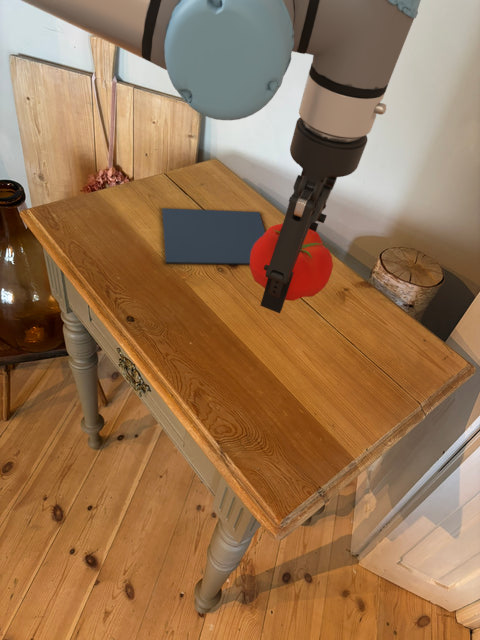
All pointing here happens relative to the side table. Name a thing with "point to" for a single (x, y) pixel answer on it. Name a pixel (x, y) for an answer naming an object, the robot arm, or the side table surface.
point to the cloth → (210, 236)
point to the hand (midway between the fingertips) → (284, 281)
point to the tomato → (308, 268)
